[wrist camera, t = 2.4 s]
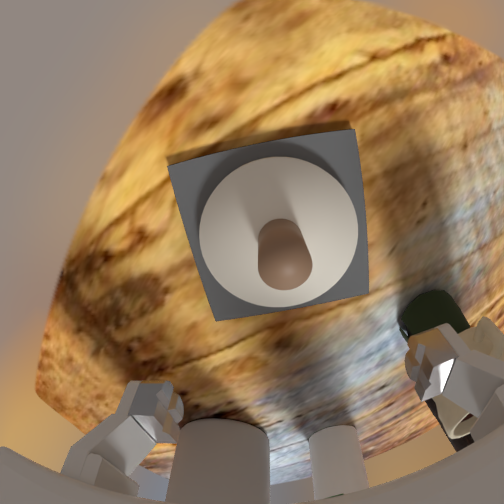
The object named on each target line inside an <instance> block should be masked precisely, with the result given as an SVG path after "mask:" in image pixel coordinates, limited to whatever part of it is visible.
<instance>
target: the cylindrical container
mask: <svg viewBox="0 0 504 504" xmlns="http://www.w3.org/2000/svg"><path fill="white" fill-rule="evenodd" d="M309 449H310V458H311V467H312V477H313V486H314V497H315V500H320V499H325V498H331V497H335V496H340V495H344V494H348V493H353V492H356V491H360V490H364V489H367V488H369V483H368V479H367V474H366V469H365V465H364V460H363V456H362V451H361V447H360V443H359V439H358V435H357V431H356V428H355V427H353V426H349V425H338V426H332V427H328V428H325V429H322V430H320V431H318V432H316V433H314V434H313V435H312V436H311V437H310V438H309Z"/></svg>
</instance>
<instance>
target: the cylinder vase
mask: <svg viewBox="0 0 504 504" xmlns="http://www.w3.org/2000/svg"><path fill="white" fill-rule="evenodd" d="M165 502H169V503H176V504H270V446H269V439H268V437H267V435H266V434H265V433H264V432H263V431H261V430H260V429H258V428H256V427H254V426H252V425H250V424H247V423H244V422H240V421H235V420H229V419H217V418H211V419H200V420H196V421H192V422H190V423H188V424H186V425H185V426H183V428H182V429H181V430H180V433H179V438H178V443H177V446H176V451H175V455H174V460H173V465H172V470H171V475H170V479H169V485H168V490H167V494H166V499H165Z"/></svg>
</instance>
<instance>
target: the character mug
mask: <svg viewBox="0 0 504 504" xmlns="http://www.w3.org/2000/svg"><path fill="white" fill-rule="evenodd" d="M401 320H402V321H403V322H404V324H405V325H406V326H407V333H408V336H407V335H406V334H405V332H404V331H403V330H402V328H401V327H400V332H401V334H402V336H403V338H404V339H405V340H406V342H407V343H408V339H409V338H410V336H412V335H415V334H418V333H421V332H423V331H426V330H429V329H431V328H435V327H437V326H440V325H442V324H445V323H448V324H450V325H451V327H452V328H453V329H454V330H455V332H456V333H457V334H458V335H459V336H460V338H461V339H462V340H463V341H464V343H465V344H466V345H467V347H468V348H469V349H470V350H471V351H473V350H476V351H479V352H481V353H484V354H486V355H489V356H491V357H494V358H496V359H499V360H501V361H504V334H503V333H502V332H501V331H500V330H499V329H498V327H497V326H496V325H495V324H494V323H493V322H492V321H491V320H490V319H489V318H487V317H484V316H483V317H482V318H481V320H480V321H479V322H478V324H477V327H473V328H470V325H469V324H468V322H467V320H466V318H465V317H464V315H463V313H462V312H461V310H460V308H459V307H458V305H457V304H456V303H455V301H454V300H453V298H452V297H451V296H450V295H449V294H448V293H447V292H445V291H444V290H434V291H430V292H427V293H424V294H421V295H419V296H418V297H417V298H416V299H415V300H414V301H413V302H412V303H410V304H409V306H408V307H407V309H406V310H405V312H404V314H403V315H402V318H401ZM432 399H433V400H434V401H435V403H436V406H437V411H438V417H439V419H440V420H441V422H442V424H443V426H444V428H445V431H446V433H447V435H448V437H450V438H451V439H456V438H460V437H463V436H465V435H467V434H470V430H471V427H472V426H473V425H474V423H475V422H476V420H477V419H478V418H477V417H476V416H474V415H472V414H471V413H469V412H468V411H466V410H465V409H463V408H462V407H460V406H458V405H457V404H455V403H454V402H452V401H451V400H449V399H448V398H446V397H445V396H443V395H442V394H440V395H437V396H435V397H432Z"/></svg>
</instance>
